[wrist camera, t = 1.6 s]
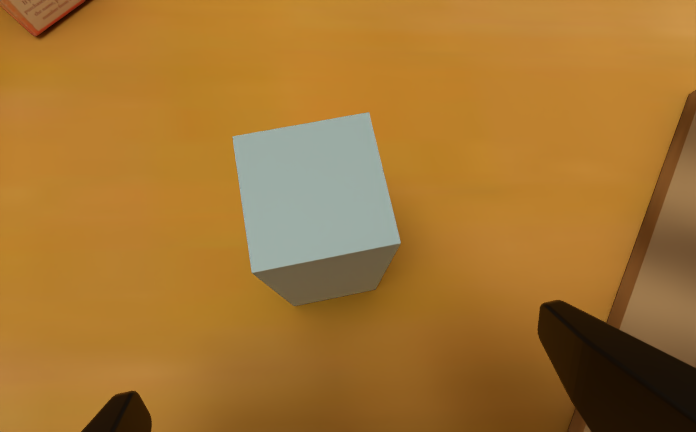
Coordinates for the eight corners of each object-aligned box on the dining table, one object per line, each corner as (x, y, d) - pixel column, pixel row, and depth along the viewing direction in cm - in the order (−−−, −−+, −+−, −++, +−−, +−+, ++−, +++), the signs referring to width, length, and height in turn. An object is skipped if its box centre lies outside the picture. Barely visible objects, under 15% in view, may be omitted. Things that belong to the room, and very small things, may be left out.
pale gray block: (375, 289, 21) (400, 242, 12) (294, 306, 21) (251, 272, 11) (358, 212, 22) (368, 112, 13) (281, 227, 22) (232, 136, 12)
